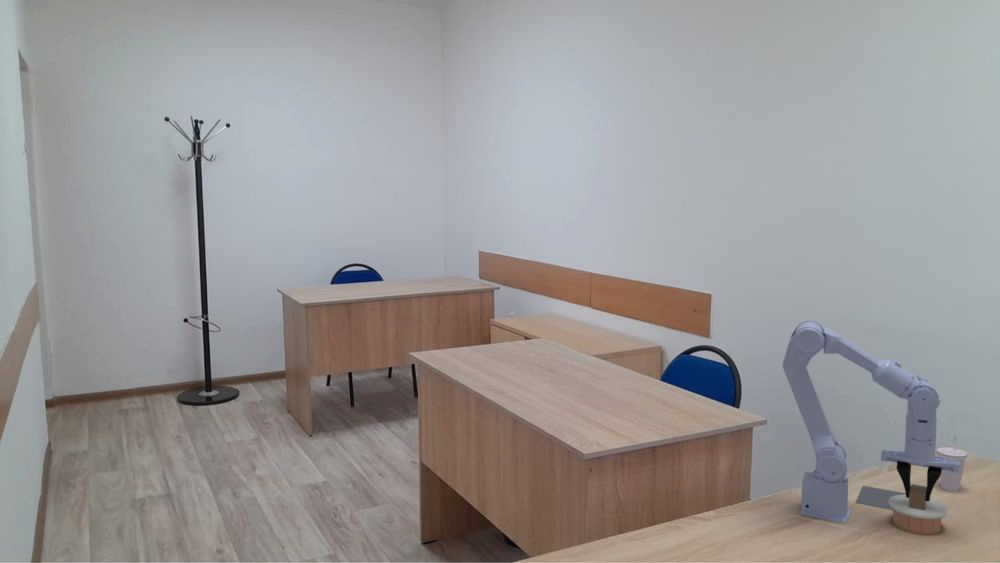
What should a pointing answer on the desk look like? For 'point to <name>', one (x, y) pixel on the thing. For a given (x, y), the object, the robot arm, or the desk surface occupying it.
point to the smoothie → (949, 478)
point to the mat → (876, 497)
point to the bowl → (917, 524)
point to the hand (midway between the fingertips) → (917, 498)
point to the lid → (918, 504)
